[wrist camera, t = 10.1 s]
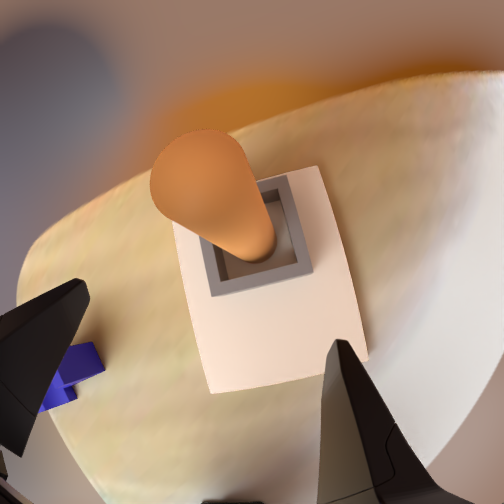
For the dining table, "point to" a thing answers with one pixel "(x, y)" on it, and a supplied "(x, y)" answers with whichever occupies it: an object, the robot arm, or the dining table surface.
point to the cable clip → (72, 374)
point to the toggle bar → (213, 194)
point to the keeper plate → (273, 293)
